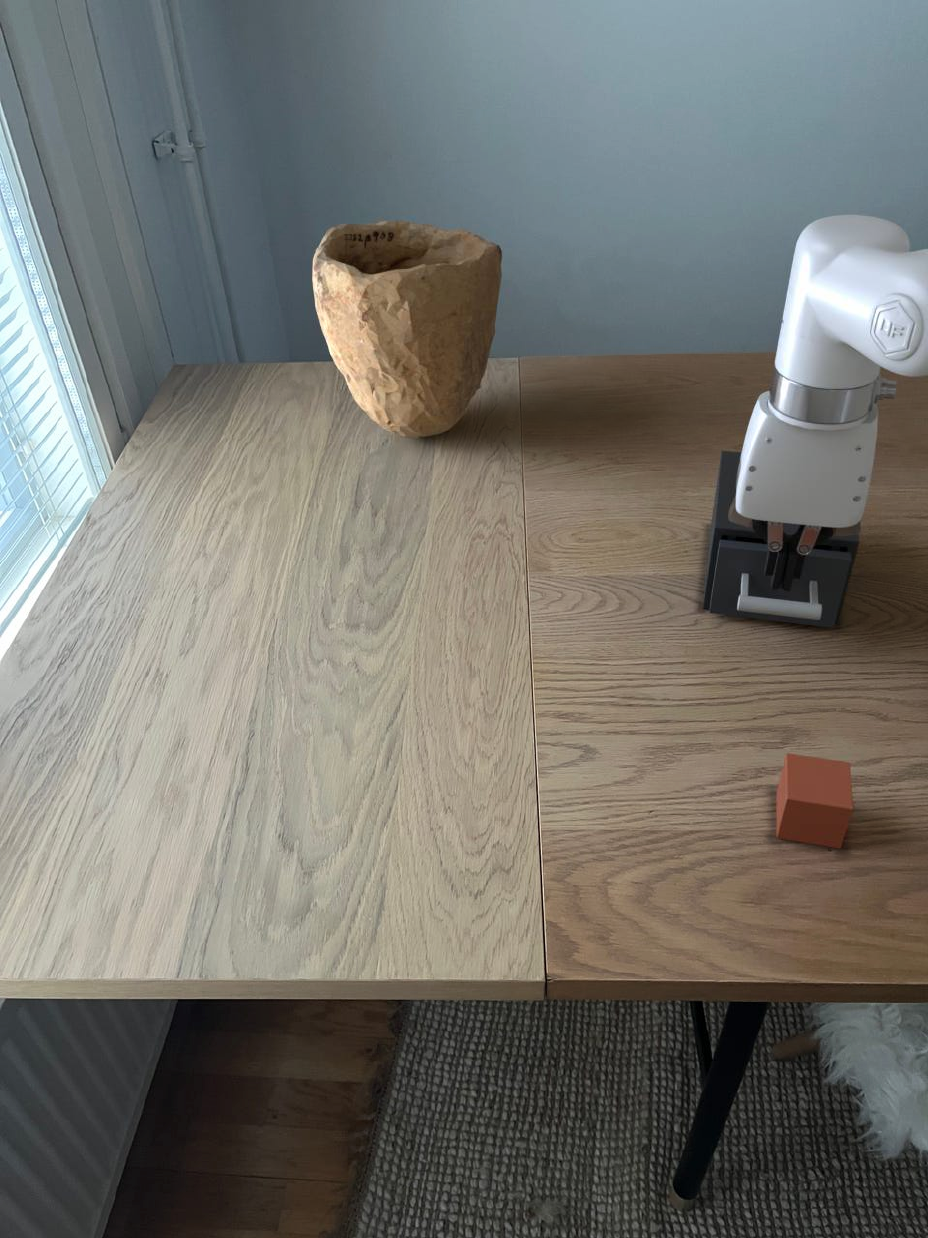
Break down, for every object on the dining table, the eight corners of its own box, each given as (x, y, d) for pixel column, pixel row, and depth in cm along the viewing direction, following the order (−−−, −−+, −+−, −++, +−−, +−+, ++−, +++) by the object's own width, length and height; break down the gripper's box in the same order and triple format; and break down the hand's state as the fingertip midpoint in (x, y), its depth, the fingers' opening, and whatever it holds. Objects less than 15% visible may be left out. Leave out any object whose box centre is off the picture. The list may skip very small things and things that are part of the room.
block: (837, 802, 74) (850, 762, 71) (840, 849, 71) (853, 809, 68) (776, 792, 75) (786, 752, 72) (776, 838, 72) (786, 798, 69)
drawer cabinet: (837, 624, 90) (859, 541, 84) (702, 609, 93) (714, 527, 87) (831, 539, 101) (850, 460, 95) (710, 527, 104) (721, 450, 98)
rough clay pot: (542, 425, 124) (544, 227, 108) (424, 496, 112) (406, 285, 96) (420, 380, 136) (405, 196, 121) (300, 440, 124) (267, 244, 108)
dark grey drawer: (836, 662, 85) (854, 593, 80) (706, 645, 88) (716, 578, 83) (828, 546, 99) (843, 482, 94) (715, 535, 101) (725, 471, 96)
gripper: (920, 376, 74) (866, 566, 85) (723, 363, 77) (697, 548, 89) (931, 421, 68) (872, 618, 80) (718, 405, 71) (691, 596, 83)
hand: (780, 581), depth 84 cm, fingers closed
